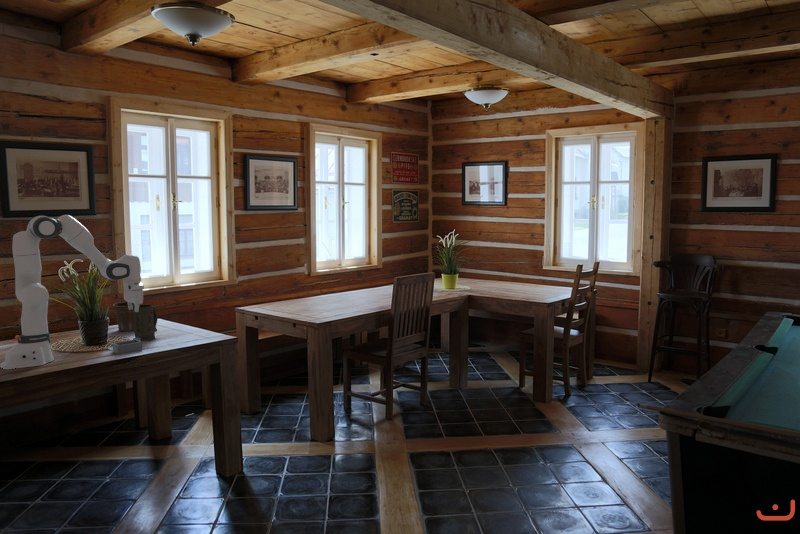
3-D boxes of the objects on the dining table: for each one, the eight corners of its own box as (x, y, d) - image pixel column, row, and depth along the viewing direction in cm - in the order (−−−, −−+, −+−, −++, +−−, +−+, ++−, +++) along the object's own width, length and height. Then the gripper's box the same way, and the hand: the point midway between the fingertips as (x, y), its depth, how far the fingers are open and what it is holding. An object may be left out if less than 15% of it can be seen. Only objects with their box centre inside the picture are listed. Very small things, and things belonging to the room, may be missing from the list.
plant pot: (119, 333, 365) (118, 306, 364) (110, 329, 377) (108, 303, 375) (147, 329, 376) (146, 303, 374) (138, 325, 388) (136, 300, 386)
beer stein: (147, 342, 340) (146, 306, 340) (129, 342, 343) (129, 306, 342) (163, 338, 355) (162, 303, 355) (146, 337, 358) (145, 303, 357)
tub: (118, 355, 314) (117, 345, 313) (113, 352, 320) (112, 343, 319) (142, 351, 322) (141, 341, 321) (137, 348, 328) (136, 339, 327)
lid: (111, 352, 321) (111, 343, 321) (107, 349, 327) (106, 341, 327) (142, 347, 331) (141, 339, 331) (137, 344, 337) (136, 336, 337)
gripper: (120, 283, 335) (121, 308, 337) (132, 287, 320) (133, 313, 321) (132, 282, 339) (133, 307, 341) (145, 286, 324) (146, 312, 325)
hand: (133, 310), depth 331 cm, fingers open, 8 cm apart
